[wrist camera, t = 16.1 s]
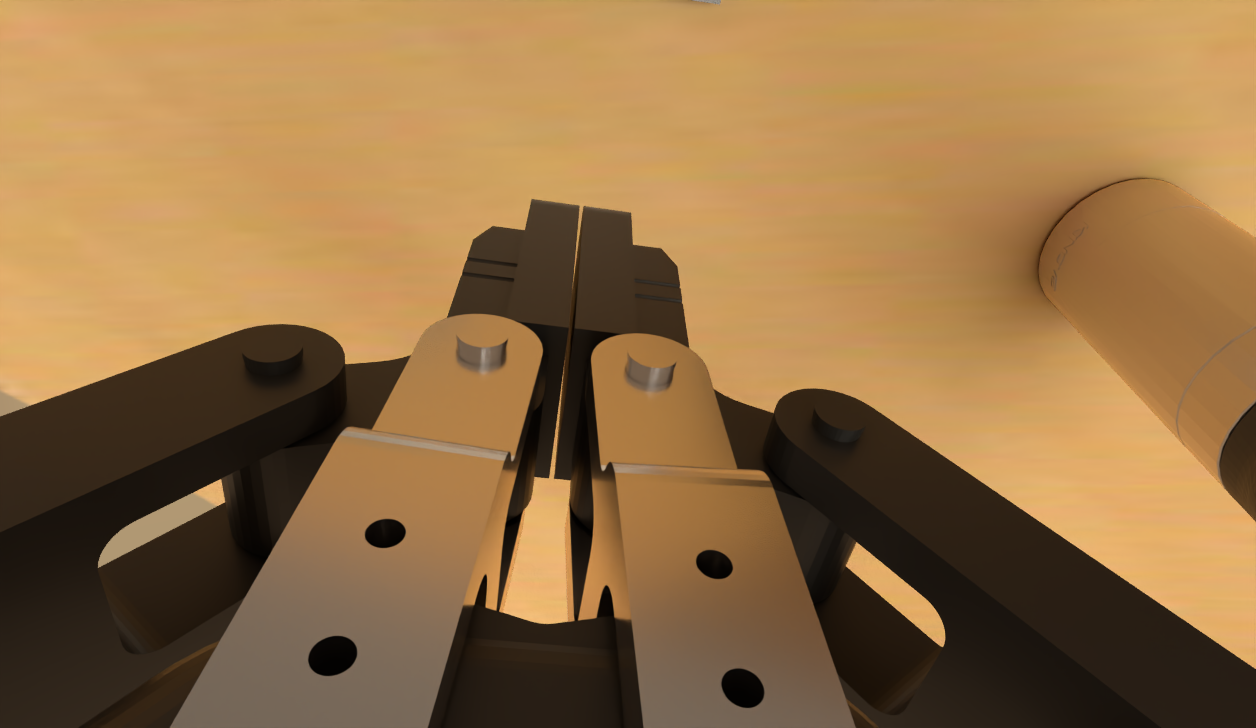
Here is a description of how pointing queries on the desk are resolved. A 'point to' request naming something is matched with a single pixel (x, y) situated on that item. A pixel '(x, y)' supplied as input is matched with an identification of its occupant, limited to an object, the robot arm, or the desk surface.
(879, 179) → the desk surface
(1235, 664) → the robot arm
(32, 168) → the desk surface
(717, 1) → the whiteboard
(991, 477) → the desk surface
